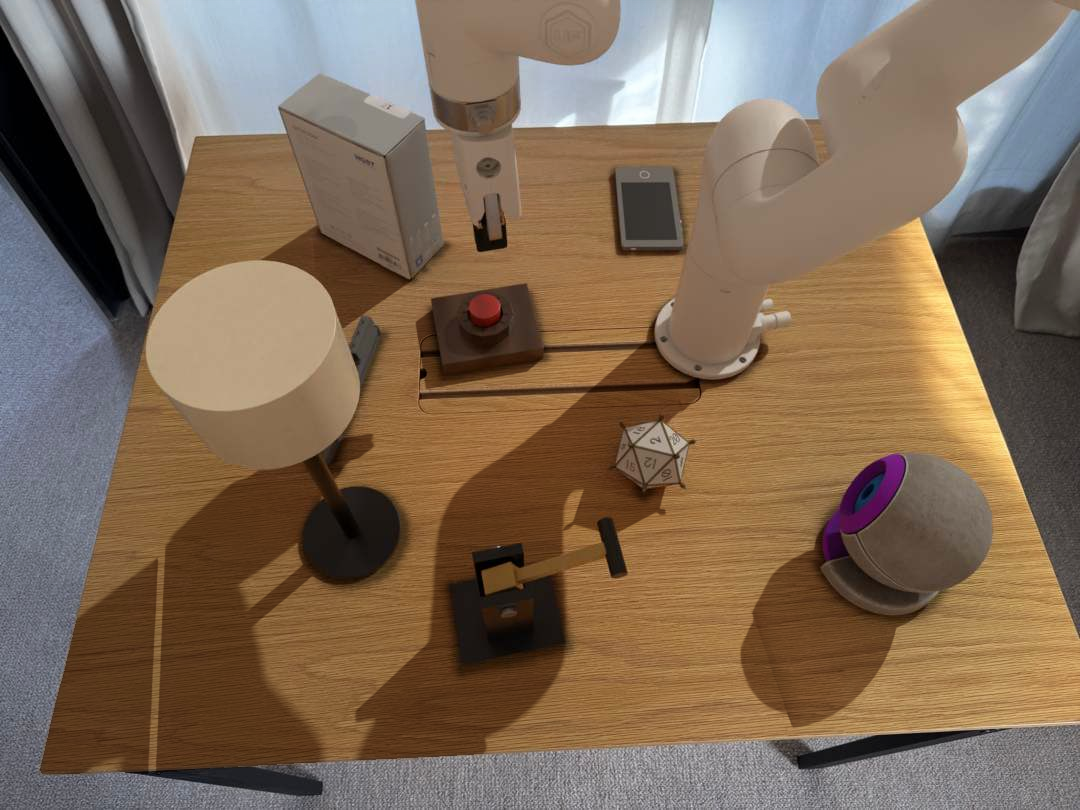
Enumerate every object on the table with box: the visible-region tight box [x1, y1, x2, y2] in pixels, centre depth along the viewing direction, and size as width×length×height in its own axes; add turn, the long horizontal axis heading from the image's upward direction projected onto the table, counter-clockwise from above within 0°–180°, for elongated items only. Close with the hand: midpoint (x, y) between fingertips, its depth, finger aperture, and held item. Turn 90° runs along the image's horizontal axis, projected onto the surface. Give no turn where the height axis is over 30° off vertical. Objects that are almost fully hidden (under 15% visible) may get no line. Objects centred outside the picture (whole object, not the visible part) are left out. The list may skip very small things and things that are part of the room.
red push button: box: [469, 294, 501, 327], centre depth 90 cm, size 4×4×2 cm
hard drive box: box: [277, 72, 445, 280], centre depth 93 cm, size 16×8×20 cm, turn 58°
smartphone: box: [614, 166, 685, 251], centre depth 104 cm, size 15×8×1 cm, turn 1°
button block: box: [430, 282, 545, 376], centre depth 92 cm, size 12×10×4 cm
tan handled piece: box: [481, 516, 629, 596], centre depth 66 cm, size 12×5×2 cm, turn 102°
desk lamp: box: [145, 260, 403, 581], centre depth 65 cm, size 12×12×36 cm
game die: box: [606, 411, 698, 493], centre depth 81 cm, size 9×8×10 cm
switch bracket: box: [449, 542, 566, 666], centre depth 70 cm, size 10×8×13 cm
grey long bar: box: [320, 314, 382, 467], centre depth 87 cm, size 19×3×4 cm, turn 168°
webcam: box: [820, 452, 994, 616], centre depth 73 cm, size 13×13×15 cm
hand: (491, 244), depth 80 cm, fingers closed
